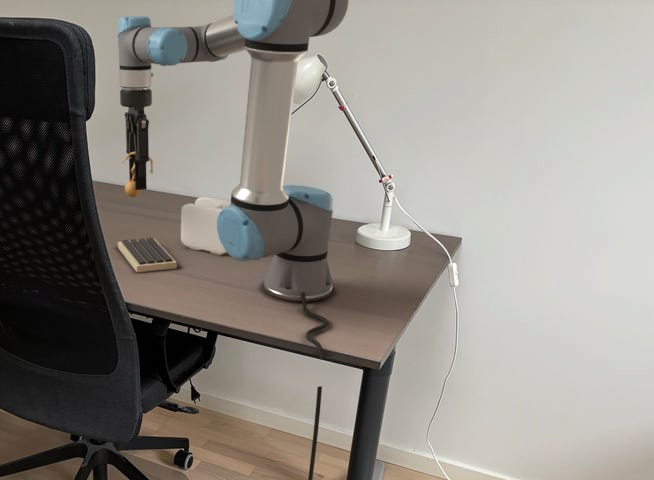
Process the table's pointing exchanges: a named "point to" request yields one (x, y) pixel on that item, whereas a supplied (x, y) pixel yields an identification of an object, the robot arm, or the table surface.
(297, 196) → the robot arm
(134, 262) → the keyboard
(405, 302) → the table surface
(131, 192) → the figurine
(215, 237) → the cable organizer
